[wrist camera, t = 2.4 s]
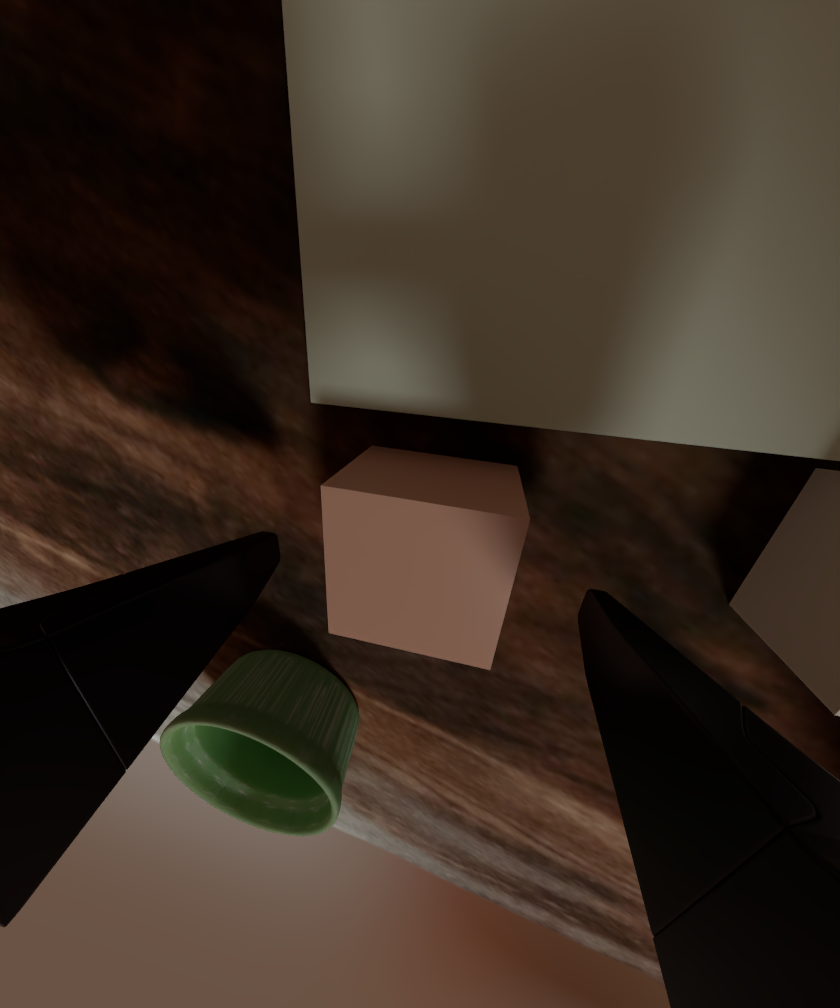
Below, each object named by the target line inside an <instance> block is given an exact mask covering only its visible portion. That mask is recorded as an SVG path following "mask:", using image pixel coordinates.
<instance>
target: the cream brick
mask: <svg viewBox="0 0 840 1008" xmlns="http://www.w3.org/2000/svg"><path fill="white" fill-rule="evenodd" d="M729 605H730V606H731V607H732V608H733V609H734V610H735V611H736V612H737V613H738V614H739V615H740V616H741V618H742V619H743V620H744V621H745V622H746V623H747V624H748V625H749V626H750V627H751V628H752V629H753V630H754V631H755V632H756V633H757V634H758V635H759V636H760V638H761V639H762V640H763V641H764V642H765V643H766V644H767V645H768V646H769V647H770V648H771V649H772V650H773V651H774V652H775V653H776V654H777V655H778V656H779V657H780V659H781V660H782V661H783V662H784V663H785V664H786V665H787V666H788V667H789V668H790V669H791V670H792V671H793V672H794V673H795V674H796V675H797V676H798V677H799V679H800V680H801V681H802V682H803V683H804V684H805V685H806V686H807V687H808V688H809V689H810V690H811V691H812V692H813V693H814V694H815V695H816V696H817V697H818V698H819V700H820V701H821V702H822V703H823V704H824V705H825V706H826V707H827V708H828V709H829V710H830V711H831V712H832V713H833V714H834V715H836V716H840V471H837V470H828V469H819V468H816V469H815V470H814V472H813V473H812V475H811V476H810V478H809V480H808V481H807V483H806V484H805V486H804V487H803V489H802V491H801V492H800V494H799V495H798V497H797V498H796V500H795V502H794V503H793V505H792V506H791V508H790V509H789V511H788V512H787V514H786V516H785V517H784V519H783V520H782V522H781V523H780V525H779V527H778V528H777V530H776V531H775V533H774V534H773V536H772V538H771V539H770V541H769V542H768V544H767V545H766V547H765V548H764V550H763V552H762V553H761V555H760V556H759V558H758V559H757V561H756V563H755V564H754V566H753V567H752V569H751V570H750V572H749V574H748V575H747V577H746V578H745V580H744V581H743V583H742V585H741V586H740V588H739V589H738V591H737V592H736V594H735V595H734V597H733V599H732V600H731V602H730V603H729Z"/></svg>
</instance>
